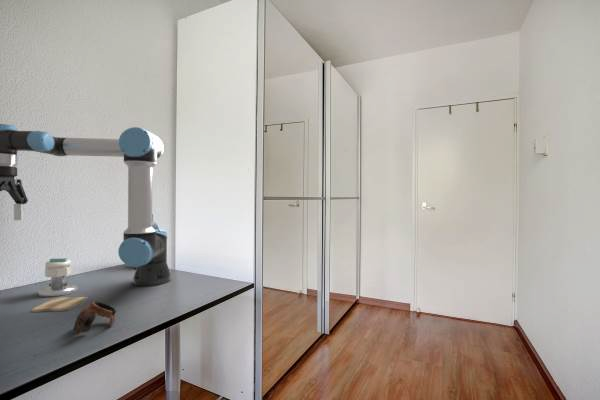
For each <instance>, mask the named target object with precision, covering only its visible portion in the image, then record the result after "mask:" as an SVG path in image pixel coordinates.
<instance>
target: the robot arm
mask: <svg viewBox="0 0 600 400" xmlns="http://www.w3.org/2000/svg"><path fill="white" fill-rule="evenodd" d="M164 148H165V147H164V144H163V141H162V139H160V138H159V136H157V135H156V134H154V133H152V132H150V131H149V130H147V129H145V128H141V127H138V126H137V127H134V126H133V127H129V128H126V130H124V131H122V132H121V134H120V135H119V138H92V137H91V138H89V137H60V136H59V137H57V136H54V135H51V133H49V132H47V131H42V130H41V131H40V130H18V129H17V127H16V126H15V125H12V124H7V123H0V192H2V191H5V192H7V193H8V194H9V196H10V197H11V198H12V200H13V201H14V204H13V221H23V220H24V205H26V204H28V201H29V199H28V197H27V195H26V192H25V190H24V186H23V184H22V183H23V182H22V179H20V178H18V179H16V178H15V177H17V176H18V168H17V166H18V152H19V151H23V152H34V153H35V152H36V153H40V154H46V155H52V156H55V157H67V156H76V157H79V156H80V157H115V158H116V157H118V158H119V157H123V163H124V164H125V165H126V166H127V180H128V183H127V194H128V195H127V228H126V229H124V231H123V238H122V240H123V241H122V242H121V243H120V245H119V247H118V251H117V252H118V254H117V255H118V256H119V259H120V260H121V262H122V263H124V264H125V265H126V266H129V267H132V268H135V267H137V268H135V272H134V276H133V278H132V283H133V285H135V286H139V287H141V286H142V287H143V286H144V287H149V286H156V285H157V286H158V285H161V284H162V285H163V284H165V283H168V282H170V281H171V280H172V275H171V271H170V268H169V265H168V263H167V262H168V261H167V259H168V258H167V257H168V254H167V251H168V248H167V246H168V234H167V231H166V230H165V229H159V230H155V229H154V228H153V227H152V214H153V168H154V167H155V166H156V165H157V164H158V163H157V160H158V159H159V158H161V156H162V155H163V153H164Z"/></svg>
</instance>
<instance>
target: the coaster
mask: <svg viewBox="0 0 600 400" xmlns="http://www.w3.org/2000/svg"><path fill="white" fill-rule="evenodd" d="M87 300H88V296H71V297H70V296H69V297H52V299H49V300H47V301H46V302H44V303H41V304H40V305H38V306H35V307H33V308H31V313H32V312H34V313H35V312H58V311H59V312H60V311H62V312H64V311H70V310H72V309H73V308H75V307H77V306H78V305H80V304H82V303H83V302H84V301H87Z"/></svg>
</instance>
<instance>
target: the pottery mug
mask: <svg viewBox="0 0 600 400" xmlns="http://www.w3.org/2000/svg"><path fill="white" fill-rule="evenodd" d="M116 313H117V309H115V307H113V306H112V305H109V304H108V303H104V302H102V301H101V302H100V301H92V302H91V304H90V305H88V306H86V307H84V308H83V309H81V311H80V312H79V314H78V315H77V317H76V321H75V323H74V326H73V329H72V330H73V332H74V333H75V334H77V333H79V334H80V332H82V333H85V332H89V331H90V328H91V325H92V324H93V323H94V321H95V319H96V316H99V317H105V318H108V319H110V321H109V324H108V326H109V327H112V326H113V324H114V322H115V321H116V315H115V314H116Z"/></svg>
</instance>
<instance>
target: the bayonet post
mask: <svg viewBox="0 0 600 400" xmlns="http://www.w3.org/2000/svg"><path fill="white" fill-rule="evenodd" d="M66 277H67V275H65V276H59V277H50V278H51V279H50V283H48V286H45V287H43V288H41V289H39V290H38V297H41V298H57V297H61V296H67V295H70V294H73V293H75V292H78V285H79V284H76V283H69V282H66Z"/></svg>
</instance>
